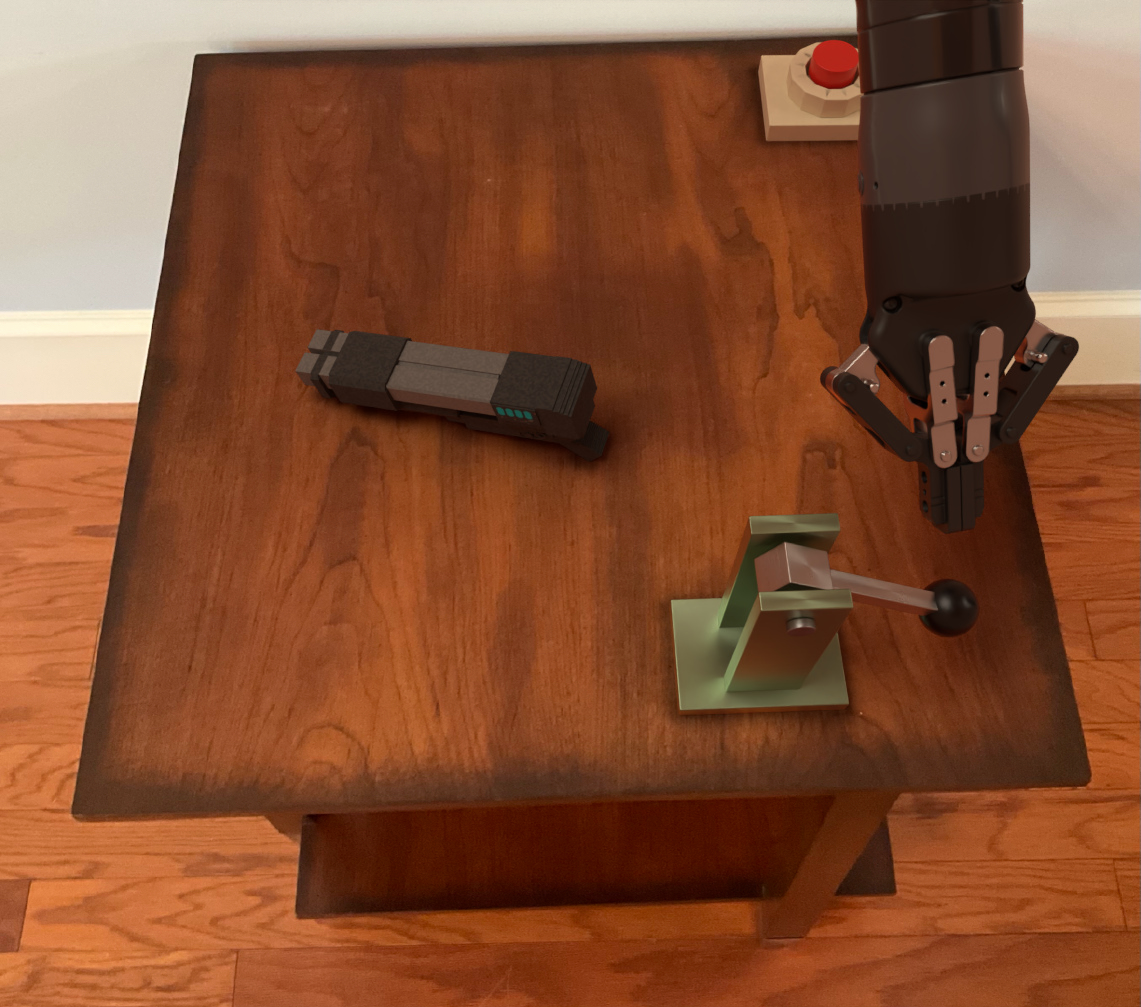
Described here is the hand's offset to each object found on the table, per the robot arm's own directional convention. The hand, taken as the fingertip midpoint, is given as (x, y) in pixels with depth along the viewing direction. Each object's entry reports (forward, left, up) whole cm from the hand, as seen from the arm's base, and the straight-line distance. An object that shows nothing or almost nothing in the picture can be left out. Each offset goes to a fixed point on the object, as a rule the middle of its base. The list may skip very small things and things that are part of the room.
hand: (952, 526), depth 53 cm
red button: (+17, -40, -8) cm, 44 cm away
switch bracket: (+7, +7, -11) cm, 15 cm away
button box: (+17, -40, -11) cm, 45 cm away
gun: (+31, -2, -12) cm, 34 cm away
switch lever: (+3, +5, -3) cm, 6 cm away
